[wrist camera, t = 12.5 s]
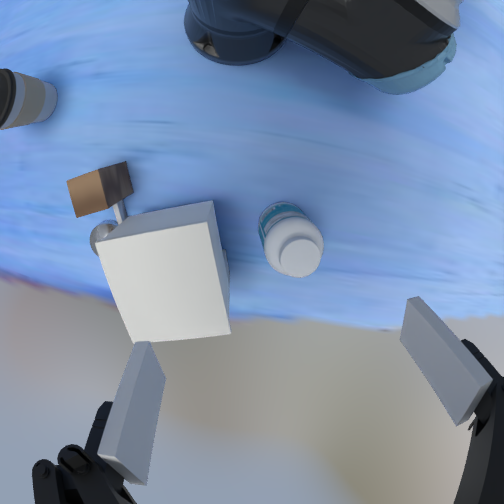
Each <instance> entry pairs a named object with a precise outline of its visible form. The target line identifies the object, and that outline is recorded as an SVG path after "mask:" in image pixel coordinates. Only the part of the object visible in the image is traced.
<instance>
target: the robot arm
mask: <svg viewBox="0 0 504 504" xmlns="http://www.w3.org/2000/svg"><path fill="white" fill-rule="evenodd" d="M188 1H189V5H188V7H187V9H186V12H185V17H184V26H185V31H186V34H187V36H188V39H189V41H190V42H191V44H192V46H193V47H194V48H195V49H196V50H197V51H198V52H199V53H200V54H201V55H203V56H204V57H206V58H208V59H210V60H212V61H215V62H218V63H221V64H227V65H247V64H252V63H256V62H259V61H262V60H264V59H266V58H268V57H269V56H271V55H272V54H274V53H275V52H276V51H277V50H278V49H279V48H280V47H281V46H282V45H283V43H284V42H285V40H286V39H288V40H290V41H293V42H295V43H297V44H299V45H301V46H303V47H305V48H307V49H309V50H311V51H313V52H315V53H317V54H319V55H320V56H322V57H324V58H326V59H328V60H330V61H331V62H333V63H335V64H337V65H338V66H340V67H342V68H343V69H345V70H347V71H348V72H349V74H350V75H352V76H353V77H354V78H356V79H358V80H361V81H364V82H366V83H368V84H370V85H371V86H373V87H374V88H376V89H378V90H379V91H381V92H385V93H388V94H393V95H400V94H407V93H411V92H414V91H416V90H419V89H421V88H423V87H425V86H426V85H428V84H430V83H431V82H432V81H434V80H435V79H436V78H438V77H439V76H440V75H441V74H442V73H443V72H444V71H445V70H446V67H445V64H447V63H450V62H451V61H452V60H453V58H454V55H455V52H456V45H457V44H456V40H455V37H454V35H453V32H454V31H455V30H457V29H458V28H459V27H460V16H459V4H460V3H462V2H463V1H464V0H188ZM305 4H306V5H305ZM302 9H303V10H302ZM299 14H300V15H299ZM297 17H298V18H297ZM296 19H297V20H296ZM293 24H294V25H293ZM292 26H293V27H292ZM290 29H291V30H290ZM400 341H401V342H402V344H403V345H404V347H405V348H406V349H407V351H408V352H409V354H410V355H411V356H412V358H413V359H414V361H415V363H416V364H417V365H418V367H419V368H420V370H421V371H422V373H423V374H424V376H425V377H426V379H427V380H428V382H429V384H430V385H431V387H432V388H433V389H434V391H435V393H436V394H437V396H438V397H439V399H440V401H441V402H442V404H443V405H444V407H445V409H446V410H447V412H448V414H449V415H450V417H451V418H452V420H453V422H454V423H455V425H456V426H458V425H460V424H461V423H463V422H465V421H467V420H468V419H469V418H470V416H471V415H472V414H473V412H474V413H475V414H476V417H475V419H474V420H473V422H472V423H471V424H470V426H469V428H468V430H470V429H471V428H472V426H473V431H472V437H471V442H470V447H469V451H468V456H467V460H466V464H465V468H464V472H463V475H462V479H461V482H460V485H459V489H458V492H457V495H456V498H455V501H454V504H504V377H502V376H501V375H500V374H499V373H498V372H497V370H496V369H495V368H494V367H493V366H492V365H491V363H490V362H489V361H488V360H487V359H486V358H485V357H484V355H483V354H482V353H481V352H480V351H479V349H478V348H477V347H476V346H475V345H474V344H473V343H471V342H470V341H468V340H466V339H464V340H461V341H460V340H459V339H458V338H457V336H456V335H454V333H453V332H452V331H451V330H450V329H449V328H448V326H447V325H446V324H445V323H444V322H443V321H442V320H441V319H440V318H439V317H438V316H437V315H436V314H435V313H434V311H433V310H432V309H431V308H430V307H429V306H428V305H427V304H426V303H425V302H424V301H423V300H422V299H421V298H420V297H419V296H418V297H414V298H410V299H407V304H406V310H405V315H404V321H403V326H402V331H401V336H400ZM165 381H166V377H165V375H164V373H163V371H162V369H161V366H160V364H159V362H158V360H157V358H156V355H155V353H154V351H153V348H152V346H151V344H150V341H138V342H135V345H134V347H133V350H132V353H131V355H130V357H129V360H128V363H127V365H126V368H125V371H124V373H123V376H122V379H121V382H120V385H119V388H118V390H117V393H116V396H115V399H114V402H108V401H105V402H104V403H103V404H102V405H101V406H100V408H99V409H98V411H97V414H96V417H95V420H94V423H93V425H92V428H91V431H90V434H89V437H88V440H87V443H86V446H85V449H84V450H83V449H82V448H81V447H80V446H78V445H74V444H71V445H68V446H65V447H64V448H63V449H61V451H60V452H59V454H58V458H57V459H58V464H59V465H54V464H53V463H52V462H51V461H49V460H46V459H42V460H39V461H38V462H37V463H35V465H34V467H33V469H32V478H33V490H34V499H35V504H137V503H136V502H135V501H134V499H133V498H132V496H131V495H130V493H129V492H128V490H127V489H126V487H125V486H124V485H123V482H124V479H125V480H127V481H128V482H129V483H131V484H138V485H147V479H148V473H149V466H150V460H151V454H152V448H153V443H154V437H155V431H156V425H157V421H158V416H159V410H160V405H161V400H162V395H163V390H164V385H165Z"/></svg>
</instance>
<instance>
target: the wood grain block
mask: <svg viewBox="0 0 504 504" xmlns="http://www.w3.org/2000/svg"><path fill="white" fill-rule="evenodd" d="M67 185H68V189H69V193H70V197H71V200H72V204H73V207H74V211H75V214H76V217H77V218H78V217H81V216H85V215H88V214H91V213H95V212H98V211H101V210H105V209H108V208H110V207H111V206H113V208H114V212H115V215H116V219H117V222H118V225H119V224H120V223H122V222H123V221H124V220H125V219H126V218H127V213H126V210H125V206H124V202H123V199H124V198H125V197H127V196H129V195H130V194H132V193H134V192H133V188H132V184H131V180H130V176H129V172H128V168H127V163H126V161H125V162H122V163H118V164H115V165H111V166H108V167H104V168H101V169H98V170H95V171H92V172H89V173H86V174H84V175H81V176H78V177H75V178H73V179H70V180H68V181H67Z"/></svg>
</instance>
